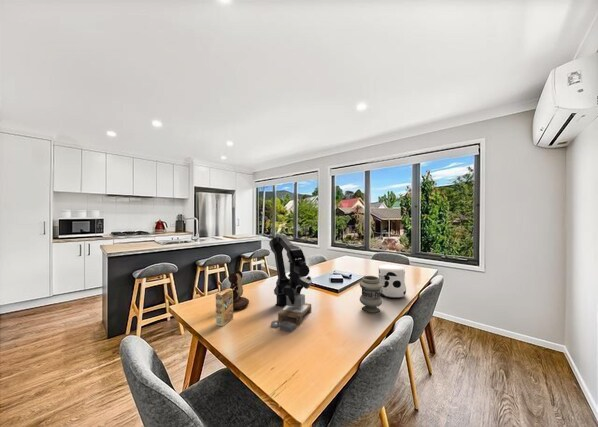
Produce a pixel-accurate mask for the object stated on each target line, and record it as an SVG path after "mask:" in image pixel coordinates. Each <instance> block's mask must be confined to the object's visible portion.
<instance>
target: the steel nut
mask: <svg viewBox="0 0 598 427" xmlns="http://www.w3.org/2000/svg"><path fill="white" fill-rule="evenodd" d="M270 327H271V328H278V327H279V328H280V321H279V320H273V321H271V323H270Z"/></svg>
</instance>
